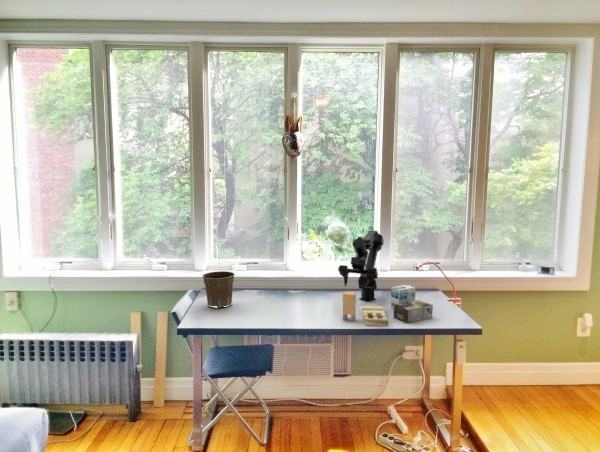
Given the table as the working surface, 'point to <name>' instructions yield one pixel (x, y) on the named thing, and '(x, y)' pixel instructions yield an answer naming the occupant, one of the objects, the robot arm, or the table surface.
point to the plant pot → (219, 288)
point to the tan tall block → (349, 305)
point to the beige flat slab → (374, 315)
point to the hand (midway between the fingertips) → (354, 286)
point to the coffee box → (413, 311)
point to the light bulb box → (402, 294)
